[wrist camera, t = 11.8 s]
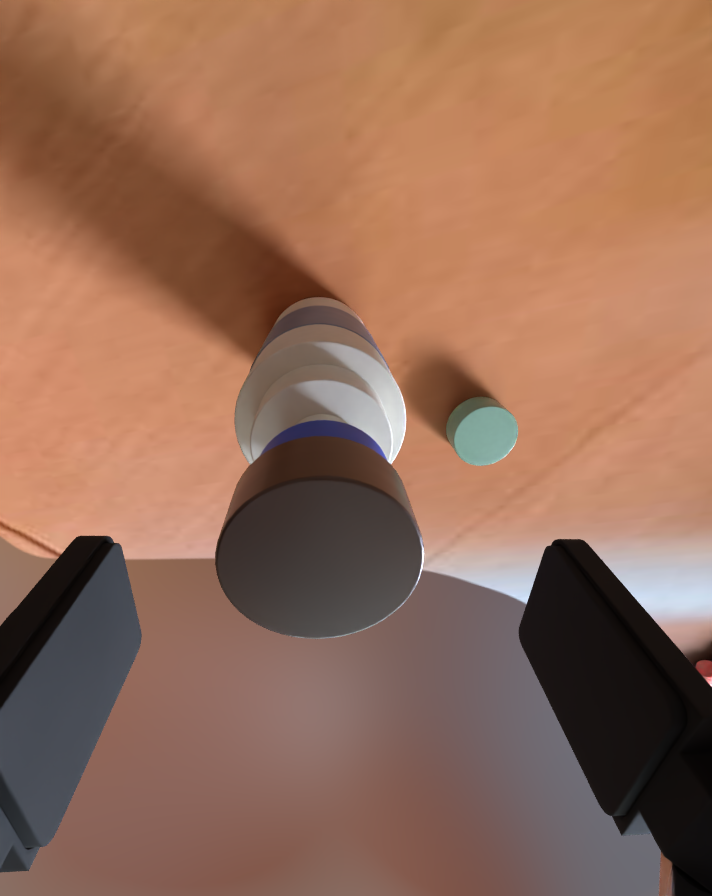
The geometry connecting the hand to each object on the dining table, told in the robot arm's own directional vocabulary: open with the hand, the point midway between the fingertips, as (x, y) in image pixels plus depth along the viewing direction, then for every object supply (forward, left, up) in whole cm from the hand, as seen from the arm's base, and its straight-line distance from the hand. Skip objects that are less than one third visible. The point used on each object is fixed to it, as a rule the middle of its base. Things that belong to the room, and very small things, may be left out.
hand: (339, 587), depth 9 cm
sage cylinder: (-7, +12, -23) cm, 27 cm away
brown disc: (0, 0, -3) cm, 3 cm away
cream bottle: (0, 0, -23) cm, 23 cm away
